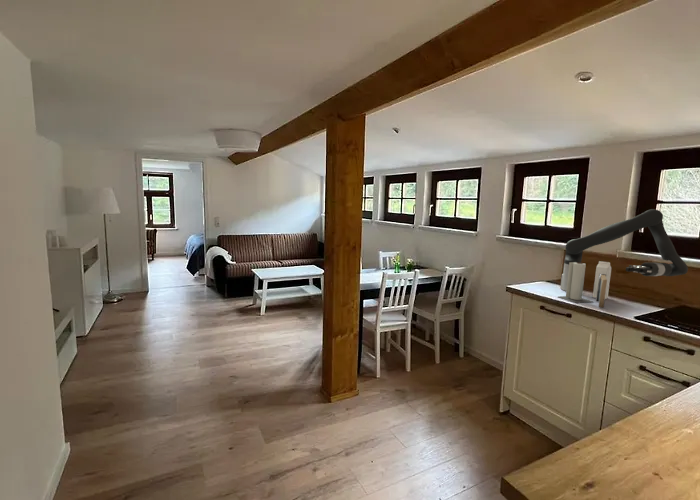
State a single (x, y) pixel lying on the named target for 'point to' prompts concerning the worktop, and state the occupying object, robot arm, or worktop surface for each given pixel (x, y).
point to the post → (599, 287)
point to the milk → (602, 269)
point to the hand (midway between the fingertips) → (627, 269)
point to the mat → (575, 300)
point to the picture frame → (602, 291)
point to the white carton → (575, 280)
